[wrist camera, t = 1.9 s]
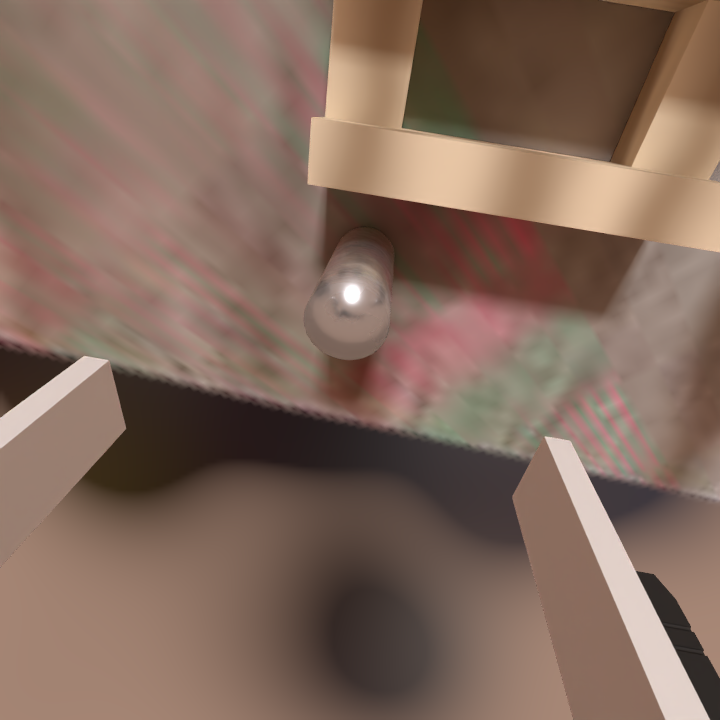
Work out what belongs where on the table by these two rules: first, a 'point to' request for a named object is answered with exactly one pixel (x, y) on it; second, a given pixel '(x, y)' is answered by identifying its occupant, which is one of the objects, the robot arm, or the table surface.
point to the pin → (353, 297)
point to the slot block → (521, 165)
